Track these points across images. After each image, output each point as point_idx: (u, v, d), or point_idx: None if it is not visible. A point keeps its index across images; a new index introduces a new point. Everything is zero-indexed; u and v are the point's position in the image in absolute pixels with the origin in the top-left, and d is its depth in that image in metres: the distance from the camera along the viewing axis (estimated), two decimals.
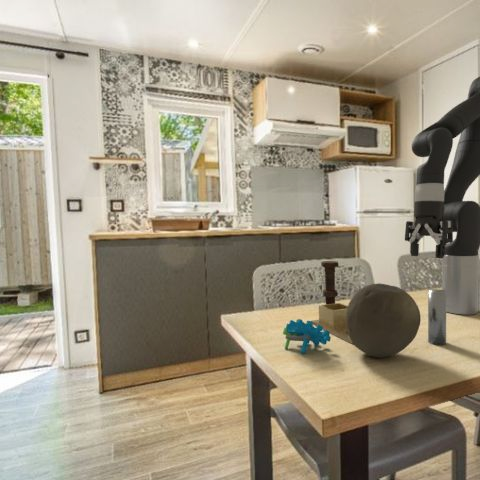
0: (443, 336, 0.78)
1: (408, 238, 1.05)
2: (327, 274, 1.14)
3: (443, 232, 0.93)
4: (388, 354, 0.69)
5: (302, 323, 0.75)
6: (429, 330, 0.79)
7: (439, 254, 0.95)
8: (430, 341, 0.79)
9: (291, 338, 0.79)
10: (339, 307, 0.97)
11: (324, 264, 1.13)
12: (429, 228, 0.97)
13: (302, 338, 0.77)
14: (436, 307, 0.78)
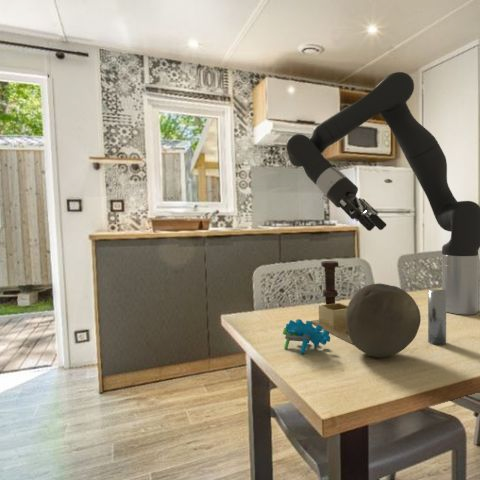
0: (443, 336, 0.78)
1: None
2: (327, 274, 1.14)
3: None
4: (388, 354, 0.69)
5: (301, 323, 0.75)
6: (429, 330, 0.79)
7: (366, 227, 0.87)
8: (430, 341, 0.79)
9: (291, 338, 0.79)
10: (339, 307, 0.97)
11: (324, 264, 1.13)
12: None
13: (302, 338, 0.77)
14: (436, 307, 0.78)
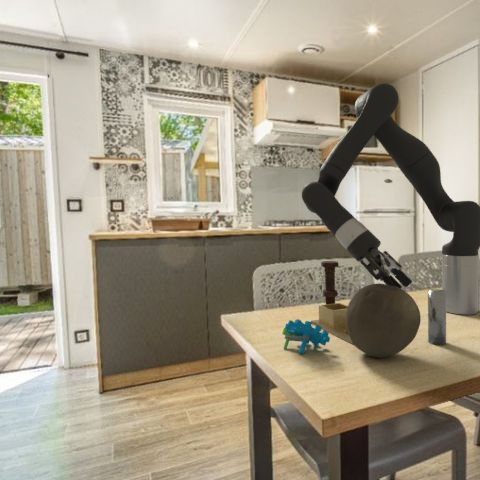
0: (443, 336, 0.78)
1: (393, 270, 0.91)
2: (327, 274, 1.14)
3: None
4: (388, 354, 0.69)
5: (301, 323, 0.75)
6: (429, 330, 0.79)
7: None
8: (430, 341, 0.79)
9: (290, 338, 0.79)
10: (339, 307, 0.97)
11: (324, 264, 1.13)
12: None
13: (301, 338, 0.77)
14: (436, 307, 0.78)
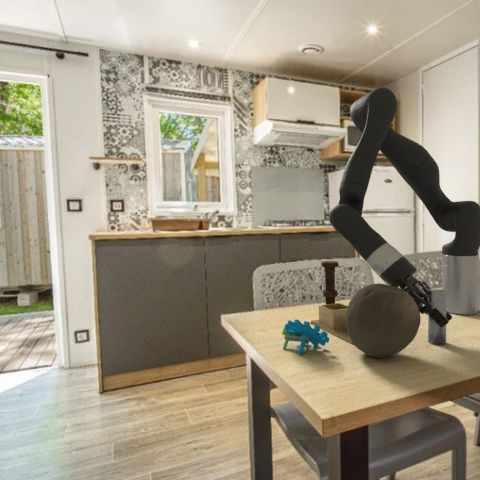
0: (444, 336, 0.78)
1: None
2: (327, 274, 1.14)
3: None
4: (388, 354, 0.69)
5: (299, 323, 0.75)
6: (429, 330, 0.79)
7: (438, 323, 0.77)
8: (430, 341, 0.79)
9: (290, 338, 0.79)
10: (339, 307, 0.97)
11: (324, 264, 1.13)
12: None
13: (300, 339, 0.77)
14: (437, 307, 0.78)
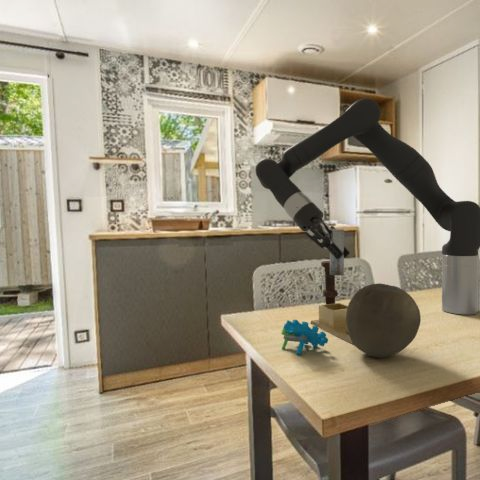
0: (340, 267, 0.91)
1: None
2: (327, 274, 1.14)
3: None
4: (388, 354, 0.69)
5: (298, 324, 0.75)
6: (330, 263, 0.93)
7: None
8: (330, 273, 0.93)
9: (289, 338, 0.79)
10: (339, 307, 0.97)
11: (324, 264, 1.13)
12: None
13: (299, 339, 0.77)
14: (335, 242, 0.91)
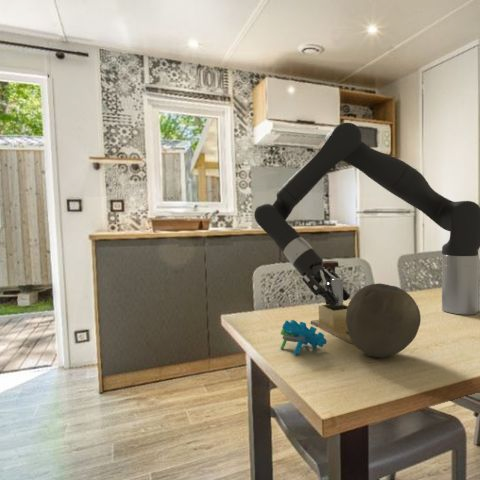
0: None
1: None
2: None
3: None
4: (388, 354, 0.69)
5: (296, 324, 0.75)
6: None
7: None
8: None
9: (287, 339, 0.79)
10: None
11: (324, 264, 1.13)
12: None
13: (297, 339, 0.76)
14: (334, 292, 0.92)
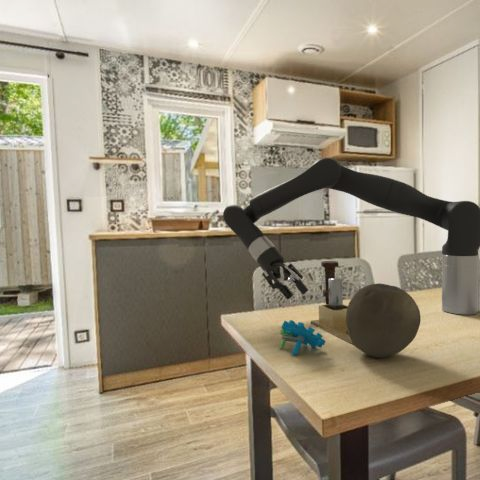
0: None
1: None
2: (327, 274, 1.14)
3: None
4: (388, 354, 0.69)
5: (294, 324, 0.75)
6: None
7: None
8: None
9: (287, 339, 0.79)
10: None
11: (324, 264, 1.13)
12: None
13: (296, 339, 0.76)
14: (333, 292, 0.92)
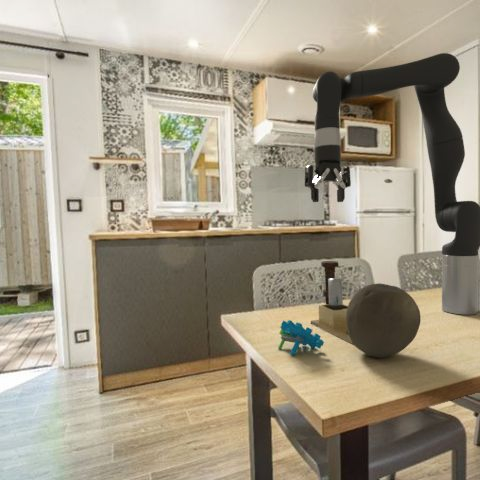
0: None
1: None
2: (327, 274, 1.14)
3: None
4: (388, 354, 0.69)
5: (292, 324, 0.75)
6: None
7: None
8: None
9: (286, 339, 0.79)
10: None
11: (324, 264, 1.13)
12: None
13: (294, 340, 0.76)
14: (333, 291, 0.93)
